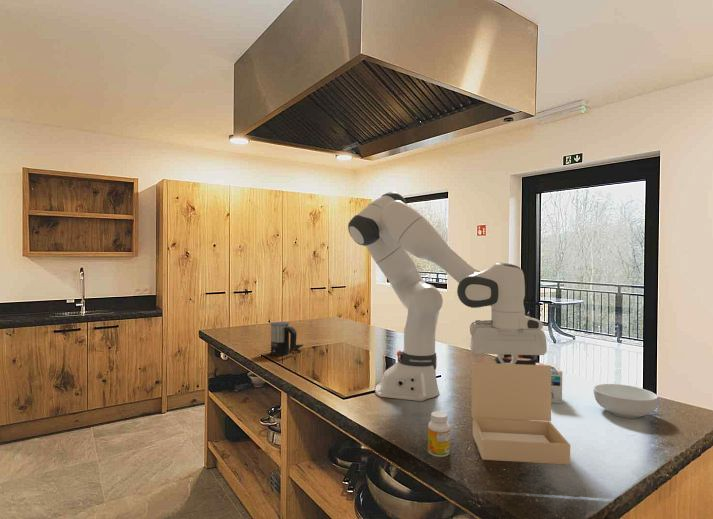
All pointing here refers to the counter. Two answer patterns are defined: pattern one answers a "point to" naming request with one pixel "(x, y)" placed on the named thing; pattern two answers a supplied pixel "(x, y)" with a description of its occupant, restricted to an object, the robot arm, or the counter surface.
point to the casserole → (519, 359)
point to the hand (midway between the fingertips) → (507, 369)
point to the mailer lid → (511, 391)
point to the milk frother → (283, 338)
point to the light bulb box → (555, 383)
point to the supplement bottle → (439, 434)
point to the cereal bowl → (625, 400)
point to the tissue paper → (514, 437)
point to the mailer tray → (521, 450)
